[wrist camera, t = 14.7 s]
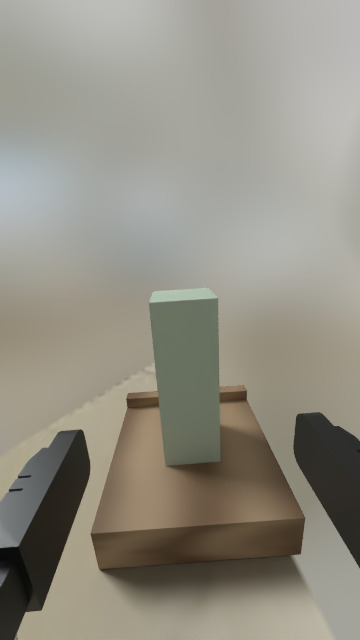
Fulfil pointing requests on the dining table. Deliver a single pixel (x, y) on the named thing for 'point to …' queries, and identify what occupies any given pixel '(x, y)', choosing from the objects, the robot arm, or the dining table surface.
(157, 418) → the plinth
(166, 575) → the dining table surface
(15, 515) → the robot arm
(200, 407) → the pillar
